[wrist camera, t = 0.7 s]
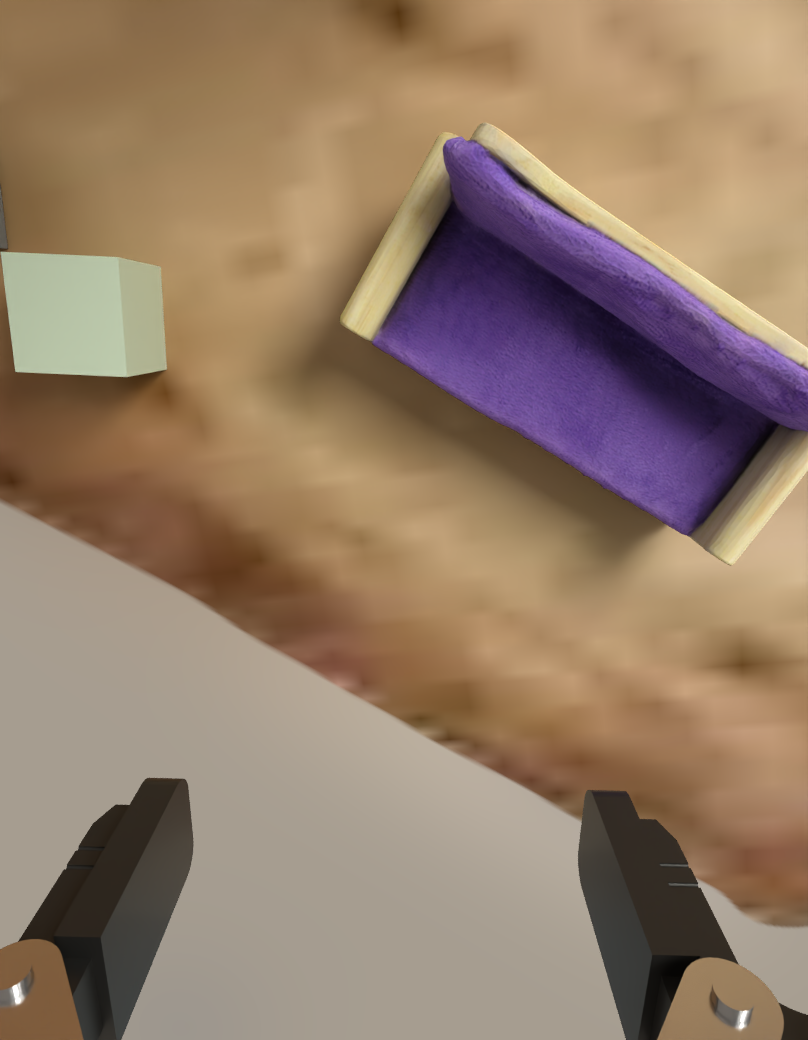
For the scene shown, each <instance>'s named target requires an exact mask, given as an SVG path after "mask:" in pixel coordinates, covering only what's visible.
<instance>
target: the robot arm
mask: <svg viewBox="0 0 808 1040" xmlns="http://www.w3.org/2000/svg"><path fill="white" fill-rule="evenodd" d="M192 855H193V832H192V822H191V811H190V802H189V790H188V784H187V782H186V780H185V779H172V778H147V779H145V781H144V782H143V783H142V785H141V786H140V788H139V790H138V792H137V793H136V795H135V797H134V798H133V800H132V802H131V804H130V805H115V806H114V807H112V808H111V809H110V810H109V811H108V812H106V813H105V814H104V815H103V816H102V817H100V818H99V819H98V820H97V821H96V822H94V823H93V825H92V826H91V828H90V829H89V831H88V832H87V834H86V835H85V837H84V839H83V840H82V842H81V843H80V845H79V849H78V851H75V853H74V855H73V856H72V858H71V859H70V861H69V862H68V864H67V868H66V870H63V872H62V874H61V875H60V877H59V878H58V880H57V881H56V883H55V885H54V886H53V888H52V889H51V891H50V892H49V894H48V896H47V897H46V899H45V900H44V902H43V903H42V905H41V907H40V908H39V910H38V911H37V913H36V914H35V916H34V918H33V919H32V921H31V922H30V924H29V925H28V927H27V929H26V930H25V932H24V933H23V935H22V937H21V938H20V940H19V941H18V942H16V943H13V944H11V945H8V946H6V947H4V948H2V949H0V1040H121V1039H122V1036H123V1034H124V1031H125V1029H126V1026H127V1024H128V1021H129V1019H130V1016H131V1014H132V1011H133V1009H134V1007H135V1004H136V1002H137V999H138V997H139V994H140V992H141V989H142V987H143V984H144V982H145V979H146V977H147V974H148V972H149V970H150V967H151V965H152V962H153V959H154V957H155V955H156V952H157V950H158V947H159V945H160V942H161V940H162V937H163V935H164V933H165V930H166V928H167V925H168V923H169V920H170V918H171V915H172V913H173V910H174V908H175V905H176V903H177V901H178V898H179V895H180V893H181V891H182V888H183V886H184V883H185V881H186V878H187V876H188V873H189V870H190V866H191V861H192ZM578 866H579V876H580V882H581V886H582V890H583V893H584V897H585V900H586V904H587V907H588V911H589V914H590V917H591V921H592V924H593V927H594V931H595V935H596V938H597V941H598V945H599V948H600V952H601V955H602V959H603V962H604V966H605V969H606V972H607V976H608V979H609V983H610V986H611V990H612V993H613V996H614V1000H615V1003H616V1007H617V1010H618V1014H619V1017H620V1020H621V1024H622V1027H623V1031H624V1034H625V1038H626V1040H808V1015H806V1014H802V1013H800V1012H797V1011H795V1010H792V1009H790V1008H788V1007H786V1006H784V1005H782V1004H780V1003H778V1001H777V999H776V998H775V996H774V995H773V993H772V992H771V990H770V989H769V988H768V987H767V986H766V984H765V983H763V982H762V981H761V980H760V979H759V978H758V977H757V976H755V975H754V974H753V973H752V972H750V971H749V970H747V969H746V968H744V967H742V966H740V965H739V964H738V962H737V960H736V958H735V956H734V954H733V952H732V951H731V949H730V946H729V945H728V942H727V940H726V938H725V936H724V934H723V932H722V930H721V928H720V926H719V924H718V922H717V920H716V918H715V916H714V914H713V912H712V910H711V908H710V906H709V904H708V902H707V900H706V898H705V896H704V894H703V892H702V890H701V888H698V882H697V880H696V878H695V876H694V874H693V872H692V870H691V868H689V867H688V862H687V860H686V858H685V856H684V854H683V852H682V850H681V848H680V846H679V844H678V842H677V840H676V839H675V838H674V837H673V836H672V835H671V834H670V833H669V832H668V831H667V830H666V829H665V828H664V827H663V826H662V825H661V824H660V823H659V822H658V821H657V820H652V819H639V817H638V815H637V812H636V810H635V808H634V806H633V803H632V801H631V799H630V797H629V795H628V793H627V792H626V791H607V790H588V791H587V792H586V794H585V800H584V808H583V816H582V825H581V833H580V842H579V851H578Z"/></svg>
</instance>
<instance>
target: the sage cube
mask: <svg viewBox="0 0 808 1040" xmlns="http://www.w3.org/2000/svg"><path fill="white" fill-rule="evenodd" d="M1 259H2V267H3V275H4V284H5V292H6V300H7V308H8V316H9V324H10V332H11V340H12V348H13V357H14V365H15V372H27V373H49V374H71V375H93V376H115V377H130V376H135V375H141V374H146V373H151V372H156V371H162V370H167V366H166V349H165V332H164V315H163V298H162V281H161V267H160V266H156V265H151V264H147V263H142V262H138V261H133V260H129V259H124V258H120V257H104V256H82V255H60V254H38V253H16V252H1Z"/></svg>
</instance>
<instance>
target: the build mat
mask: <svg viewBox="0 0 808 1040" xmlns="http://www.w3.org/2000/svg"><path fill="white" fill-rule="evenodd" d="M0 248H1V249H8V245H7V237H6V228H5V220H4V212H3V203H2V195H1V187H0Z"/></svg>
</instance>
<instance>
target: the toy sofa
mask: <svg viewBox="0 0 808 1040" xmlns="http://www.w3.org/2000/svg"><path fill="white" fill-rule="evenodd" d="M340 323H341V325H343V326H344V327H345V328H347V329H349V330H350V331H352V332H354V333H355V334H357V335H358V336H360V337H362V338H364V339H366V340H368V341H369V340H370V341H371V342H372V344H373V345H374V346H376V347H378V348H379V349H381V350H382V351H384V352H385V353H387V354H389V355H391V356H392V357H394V358H395V359H397V360H398V361H400V362H401V363H403V364H405V365H406V366H408V367H410V368H411V369H413V370H414V371H416V372H417V373H418V374H420V375H422V376H424V377H425V378H426V379H428V380H430V381H431V382H433V383H434V384H436V385H437V386H439V387H440V388H442V389H443V390H445V391H446V392H447V393H449V394H451V395H452V396H454V397H455V398H457V399H459V400H460V401H462V402H464V403H465V404H467V405H468V406H470V407H472V408H473V409H475V410H476V411H478V412H480V413H482V414H484V415H486V416H487V417H489V418H490V419H492V420H494V421H496V422H498V423H500V424H502V425H504V426H507V427H509V428H511V429H513V430H515V431H517V432H518V433H520V434H521V435H522V436H523V437H524V438H526V439H529V440H531V441H532V442H534V443H536V444H537V445H539V446H541V447H542V448H543V449H544V450H546V451H548V452H550V453H552V454H554V455H555V456H557V457H558V458H560V459H562V460H563V461H564V462H565V463H567V464H569V465H571V466H573V467H574V468H575V469H577V470H579V471H580V472H581V473H582V474H583V475H584V476H588V477H590V478H591V479H593V480H594V481H596V482H597V483H599V484H601V485H602V487H603V488H606V489H609V490H610V491H612V492H613V493H615V494H617V495H618V496H620V497H621V498H622V499H625V500H627V501H629V502H631V503H632V504H634V505H636V506H637V507H639V508H640V509H642V510H644V511H646V512H648V513H650V514H651V515H653V516H655V517H656V518H657V519H659V520H661V521H662V522H663V523H665V524H666V525H668V526H670V527H671V528H673V529H675V530H676V531H678V532H680V533H681V534H684V535H687V536H689V537H690V538H692V539H693V540H694V541H695V542H697V543H698V544H699V545H700V546H702V547H703V548H704V549H705V550H706V551H708V552H709V553H710V554H712V555H713V556H715V557H716V558H718V559H719V560H721V561H723V562H724V563H726V564H728V565H733V564H734V563H735V562H736V561H737V559H738V558H739V557H740V556H741V555H742V553H743V552H744V551H745V550H746V548H747V547H748V546H749V544H750V543H751V542H752V541H753V539H754V538H755V537H756V536H757V534H758V533H759V532H760V530H761V529H762V528H763V527H764V525H765V524H766V523H767V522H768V520H769V519H770V518H771V517H772V515H773V514H774V513H775V511H776V510H777V509H778V508H779V506H780V505H781V504H782V503H783V501H784V500H785V499H786V497H787V496H788V495H789V494H790V492H791V491H792V490H793V489H794V487H795V486H796V485H797V484H798V482H799V481H800V480H801V478H802V477H803V476H804V475H805V473H806V472H807V471H808V348H807V347H806V346H804V345H803V344H801V343H800V342H798V341H797V340H795V339H794V338H792V337H791V336H789V335H788V334H786V333H785V332H783V331H782V330H780V329H779V328H777V327H776V326H774V325H773V324H771V323H770V322H769V321H767V320H766V319H764V318H763V317H761V316H760V315H758V314H757V313H755V312H754V311H752V310H751V309H749V308H748V307H746V306H745V305H743V304H742V303H741V302H739V301H738V300H736V299H735V298H733V297H732V296H730V295H729V294H727V293H726V292H724V291H723V290H721V289H720V288H718V287H717V286H715V285H714V284H712V283H710V282H709V281H708V280H707V279H705V278H704V277H702V276H701V275H700V274H698V273H697V272H695V271H694V270H692V269H691V268H689V267H688V266H686V265H685V264H684V263H682V262H681V261H679V260H678V259H676V258H675V257H673V256H672V255H671V254H669V253H668V252H666V251H665V250H663V249H662V248H660V247H659V246H657V245H656V244H654V243H653V242H651V241H650V240H648V239H647V238H645V237H644V236H642V235H641V234H639V233H638V232H636V231H635V230H634V229H632V228H631V227H629V226H628V225H626V224H625V223H623V222H622V221H620V220H619V219H617V218H616V217H614V216H613V215H612V214H610V213H609V212H607V211H606V210H604V209H603V208H601V207H600V206H598V205H597V204H596V203H594V202H593V201H591V200H590V199H588V198H587V197H586V196H584V195H583V194H581V193H580V192H579V191H577V190H576V189H575V188H573V187H572V186H570V185H569V184H568V183H566V182H565V181H564V180H562V179H561V178H560V177H558V176H557V175H556V174H555V173H553V172H552V171H551V170H550V169H549V168H547V167H546V166H545V165H544V164H543V163H542V162H540V161H539V160H538V159H537V158H536V157H534V156H533V155H532V154H531V153H530V152H528V151H527V150H526V149H525V148H524V147H522V146H521V145H520V144H519V143H517V142H516V141H515V140H513V139H512V138H511V137H510V136H508V135H507V134H505V133H504V132H503V131H501V130H500V129H498V128H497V127H495V126H493V125H491V124H488V123H482V124H480V125H479V126H478V127H477V129H476V130H475V132H474V134H473V135H472V137H471V139H470V140H469V141H465V140H464V139H463V138H462V137H458V136H457V135H455V134H452V133H447V132H443V133H442V134H440V135H439V136H438V138H437V139H436V141H435V143H434V145H433V147H432V149H431V150H430V152H429V154H428V156H427V158H426V160H425V161H424V163H423V165H422V167H421V169H420V171H419V172H418V174H417V176H416V178H415V180H414V182H413V184H412V185H411V187H410V189H409V191H408V193H407V195H406V196H405V198H404V200H403V202H402V204H401V206H400V207H399V209H398V211H397V213H396V215H395V217H394V219H393V220H392V222H391V224H390V226H389V228H388V230H387V231H386V233H385V235H384V237H383V239H382V241H381V243H380V244H379V246H378V248H377V250H376V252H375V254H374V255H373V257H372V259H371V261H370V263H369V265H368V267H367V268H366V270H365V272H364V274H363V276H362V278H361V279H360V281H359V283H358V285H357V287H356V289H355V290H354V292H353V294H352V296H351V298H350V300H349V301H348V303H347V305H346V307H345V309H344V311H343V312H342V314H341V316H340Z"/></svg>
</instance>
